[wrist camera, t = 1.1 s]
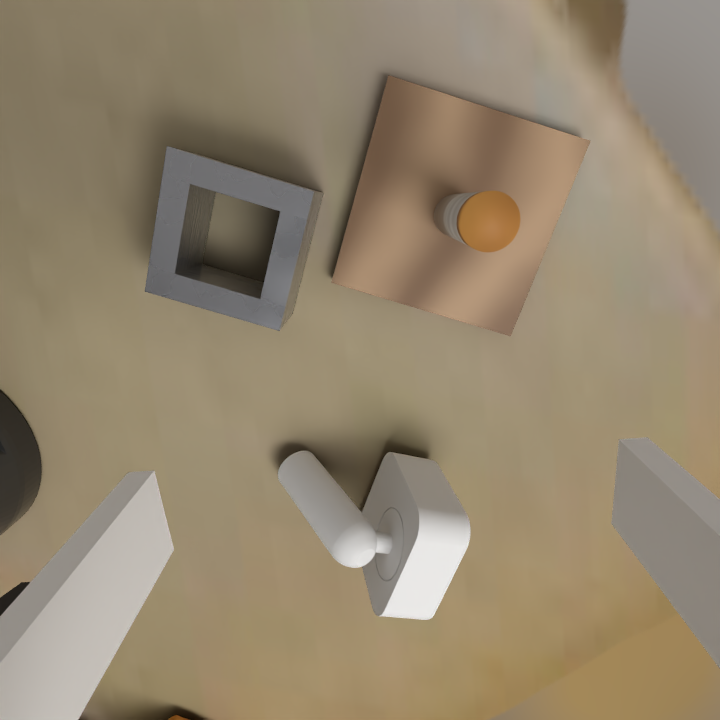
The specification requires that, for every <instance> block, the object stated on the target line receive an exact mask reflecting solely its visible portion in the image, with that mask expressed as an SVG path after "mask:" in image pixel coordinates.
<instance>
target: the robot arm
mask: <svg viewBox="0 0 720 720" xmlns="http://www.w3.org/2000/svg"><path fill="white" fill-rule="evenodd" d="M40 481H41V460H40V455H39V450H38V447H37V444H36V441H35V438H34V436H33V434H32V432H31V430H30V428H29V426H28V424H27V423H26V421H25V419H24V418H23V416H22V415H21V414H20V412H19V411H18V410H17V408H16V407H15V406H14V405H13V404H12V403H11V401H10V400H9V399H8V398H7V397H6V396H5V395H4V394H3V393H1V392H0V535H1V534H2V533H4V532H5V531H6V530H7V529H8V528H9V527H11V526H12V525H13V524H14V523H15V522H16V521H17V520H19V519H20V518H21V517H22V516H23V515H24V514H25V513H26V512H27V511H28V509H29V508H30V507H31V505H32V504H33V502H34V500H35V498H36V496H37V493H38V490H39V486H40ZM612 525H613V526H614V528H615V529H616V530H617V532H618V533H619V534H620V536H621V537H622V538H623V540H624V541H625V542H626V544H627V545H628V546H629V548H630V549H631V550H632V552H633V553H634V554H635V556H636V557H637V558H638V560H639V561H640V562H641V564H642V565H643V566H644V568H645V569H646V570H647V572H648V573H649V574H650V576H651V577H652V578H653V580H654V581H655V582H656V584H657V585H658V586H659V588H660V589H661V590H662V592H663V593H664V595H665V596H666V597H667V599H668V600H669V601H670V603H671V604H672V605H673V607H674V608H675V609H676V611H677V612H678V613H679V615H680V616H681V617H682V619H683V620H684V621H685V623H686V624H687V625H688V627H689V628H690V629H691V631H692V632H693V633H694V635H695V636H696V637H697V639H698V640H699V641H700V643H701V644H702V645H703V647H704V648H705V649H706V650H707V652H708V653H709V655H710V656H711V657H712V659H713V660H714V661H715V663H716V664H717V665H718V667H719V668H720V499H719V498H718V497H716V496H715V495H714V494H713V493H712V492H711V491H709V490H708V489H707V488H706V487H705V486H704V485H702V484H701V483H700V482H699V481H698V480H697V479H695V478H694V477H693V476H692V475H691V474H689V473H688V472H687V471H686V470H685V469H684V468H682V467H681V466H680V465H679V464H678V463H677V462H675V461H674V460H673V459H672V458H671V457H670V456H668V455H667V454H666V453H665V452H664V451H663V450H661V449H660V448H659V447H658V446H657V445H656V444H654V443H653V442H652V441H651V440H650V439H649V438H632V439H619V444H618V456H617V467H616V479H615V490H614V501H613V513H612ZM173 550H174V548H173V544H172V540H171V536H170V532H169V528H168V524H167V520H166V516H165V512H164V508H163V504H162V500H161V496H160V492H159V488H158V484H157V480H156V476H155V472H154V471H141V472H128V473H127V474H126V476H125V477H124V478H123V479H122V480H121V481H120V482H119V483H118V485H117V486H116V487H115V488H114V489H113V490H112V491H111V492H110V494H109V495H108V496H107V497H106V498H105V499H104V500H103V501H102V503H101V504H100V505H99V506H98V507H97V508H96V509H95V510H94V512H93V513H92V514H91V515H90V516H89V517H88V518H87V519H86V521H85V522H84V523H83V524H82V525H81V526H80V527H79V528H78V530H77V531H76V532H75V533H74V534H73V535H72V536H71V537H70V539H69V540H68V541H67V542H66V543H65V544H64V545H63V546H62V547H61V549H60V550H59V551H58V552H57V553H56V554H55V555H54V556H53V558H52V559H51V560H50V561H49V562H48V563H47V564H46V565H45V567H44V568H43V569H42V570H41V571H40V572H39V573H38V574H37V576H36V577H35V578H34V579H33V580H32V581H31V582H22V583H20V584H19V585H17V586H16V587H15V588H13V589H12V590H10V591H9V592H8V593H6V594H5V595H3V596H2V597H1V598H0V720H78V719H79V717H80V716H81V714H82V712H83V710H84V709H85V707H86V705H87V703H88V701H89V700H90V698H91V696H92V694H93V693H94V691H95V689H96V687H97V685H98V684H99V682H100V680H101V678H102V677H103V675H104V673H105V671H106V669H107V668H108V666H109V664H110V662H111V661H112V659H113V657H114V655H115V653H116V652H117V650H118V648H119V646H120V645H121V643H122V641H123V639H124V637H125V636H126V634H127V632H128V630H129V629H130V627H131V625H132V623H133V621H134V620H135V618H136V616H137V614H138V613H139V611H140V609H141V607H142V605H143V604H144V602H145V600H146V598H147V597H148V595H149V593H150V591H151V589H152V588H153V586H154V584H155V582H156V581H157V579H158V577H159V575H160V573H161V572H162V570H163V568H164V566H165V565H166V563H167V561H168V559H169V557H170V556H171V554H172V552H173Z"/></svg>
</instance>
